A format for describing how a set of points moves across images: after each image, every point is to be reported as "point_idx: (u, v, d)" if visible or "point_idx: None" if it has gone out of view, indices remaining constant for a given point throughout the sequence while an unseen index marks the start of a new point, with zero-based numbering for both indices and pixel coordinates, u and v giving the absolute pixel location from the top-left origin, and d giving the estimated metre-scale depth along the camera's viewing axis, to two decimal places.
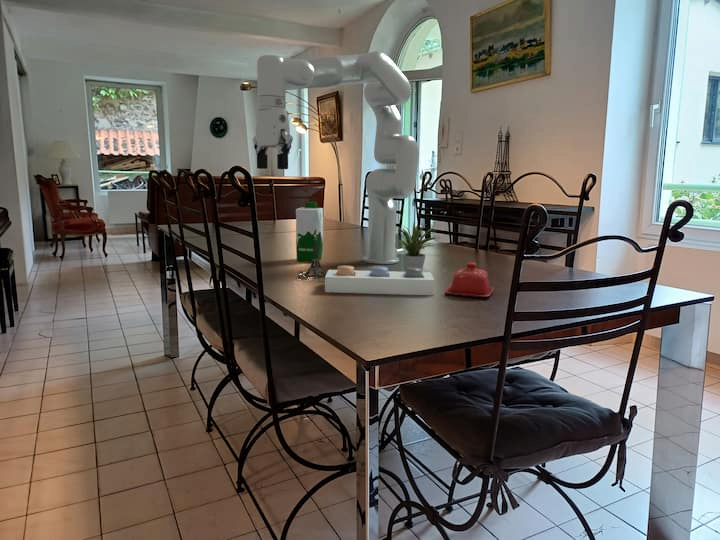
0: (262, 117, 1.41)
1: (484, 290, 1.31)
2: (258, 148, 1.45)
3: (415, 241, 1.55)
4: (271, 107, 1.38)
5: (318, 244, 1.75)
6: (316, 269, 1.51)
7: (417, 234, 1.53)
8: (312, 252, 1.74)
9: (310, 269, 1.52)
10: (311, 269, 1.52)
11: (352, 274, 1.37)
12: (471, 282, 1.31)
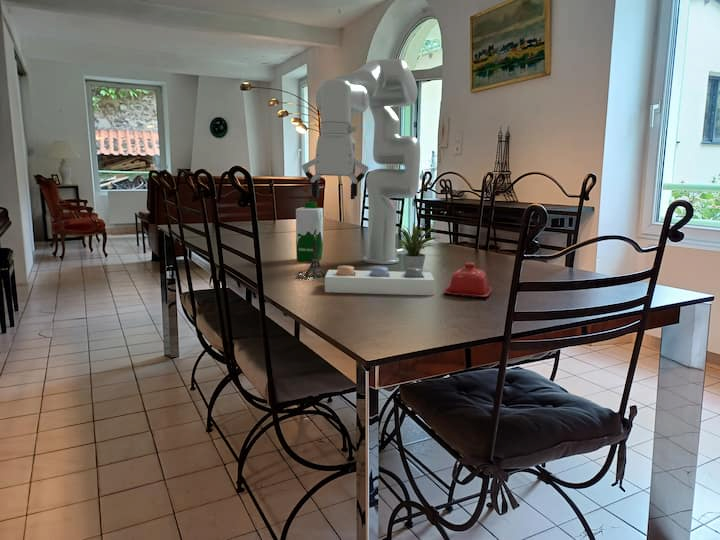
0: (330, 144, 1.31)
1: (482, 290, 1.31)
2: (316, 176, 1.34)
3: (415, 241, 1.55)
4: (345, 135, 1.30)
5: (318, 244, 1.75)
6: (315, 269, 1.51)
7: (417, 234, 1.53)
8: (312, 252, 1.74)
9: (309, 269, 1.52)
10: (310, 269, 1.52)
11: (352, 274, 1.37)
12: (469, 282, 1.31)
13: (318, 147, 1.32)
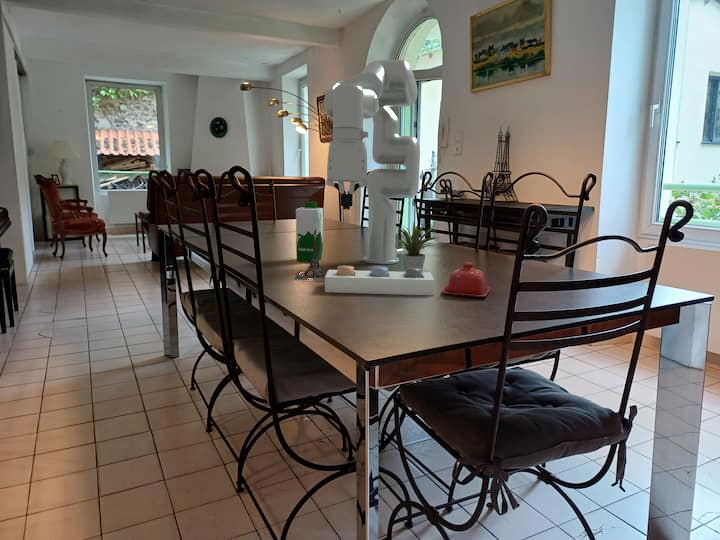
0: (343, 150, 1.30)
1: (481, 290, 1.31)
2: (341, 186, 1.32)
3: (415, 241, 1.55)
4: (359, 140, 1.29)
5: (318, 244, 1.75)
6: (315, 269, 1.51)
7: (417, 234, 1.53)
8: (312, 252, 1.74)
9: (309, 269, 1.52)
10: (310, 269, 1.52)
11: (352, 274, 1.37)
12: (467, 282, 1.31)
13: (331, 153, 1.30)
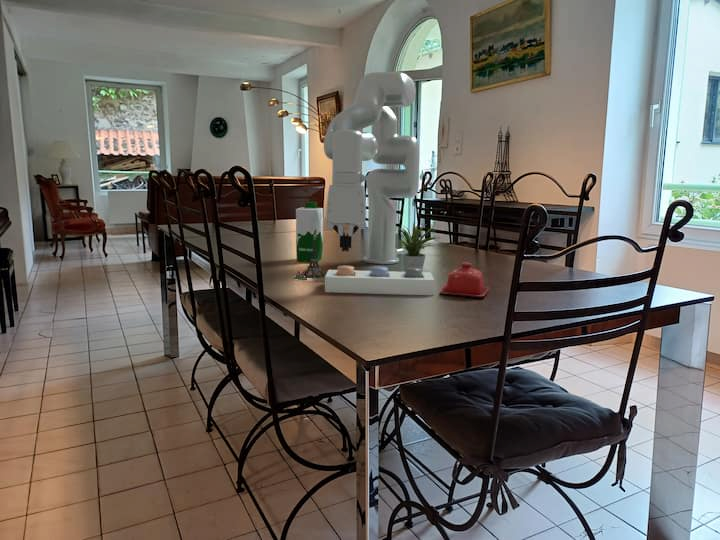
0: (342, 193, 1.31)
1: (479, 290, 1.31)
2: (340, 228, 1.34)
3: (415, 241, 1.55)
4: (358, 184, 1.31)
5: (318, 244, 1.75)
6: (314, 269, 1.51)
7: (417, 234, 1.53)
8: None
9: (308, 269, 1.53)
10: (309, 269, 1.52)
11: (352, 274, 1.37)
12: (465, 282, 1.32)
13: (330, 196, 1.32)
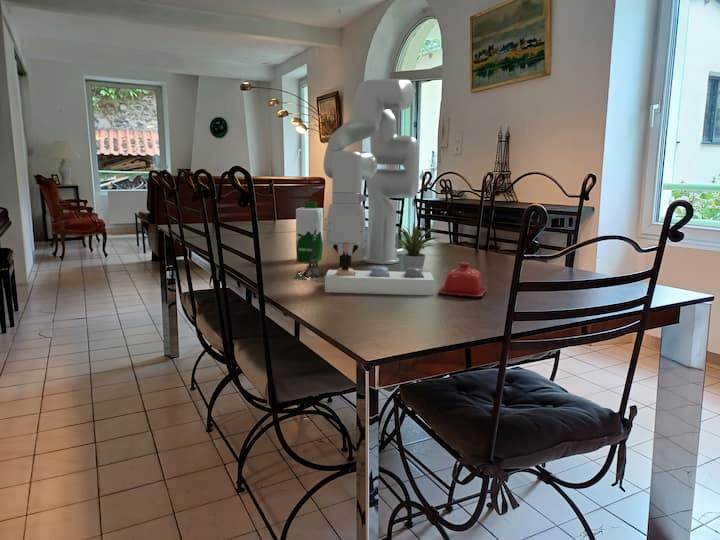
0: (342, 213, 1.32)
1: (477, 290, 1.31)
2: (340, 248, 1.35)
3: (415, 241, 1.55)
4: (357, 204, 1.32)
5: (318, 245, 1.75)
6: (314, 269, 1.51)
7: (417, 234, 1.53)
8: None
9: (308, 269, 1.53)
10: (309, 269, 1.52)
11: None
12: (463, 282, 1.32)
13: (330, 216, 1.33)
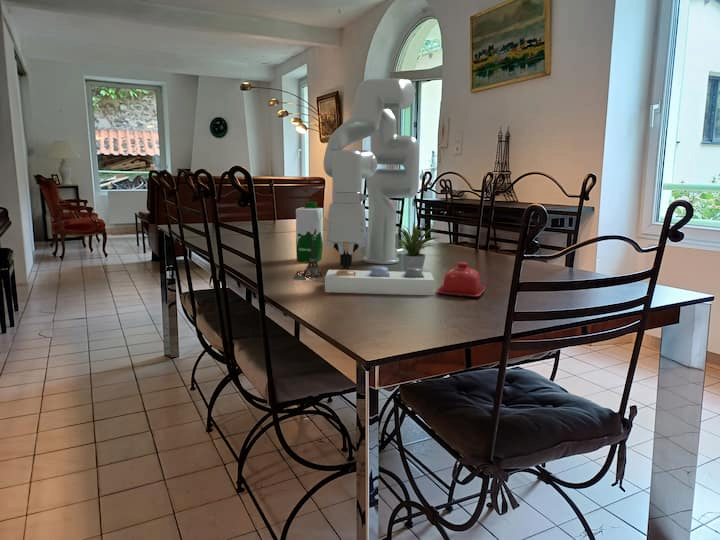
0: (342, 213, 1.33)
1: (475, 290, 1.31)
2: (341, 247, 1.36)
3: (415, 241, 1.55)
4: (357, 204, 1.32)
5: (318, 244, 1.75)
6: (313, 269, 1.51)
7: (417, 234, 1.53)
8: None
9: (307, 269, 1.53)
10: (308, 269, 1.52)
11: None
12: (462, 282, 1.32)
13: (330, 216, 1.33)
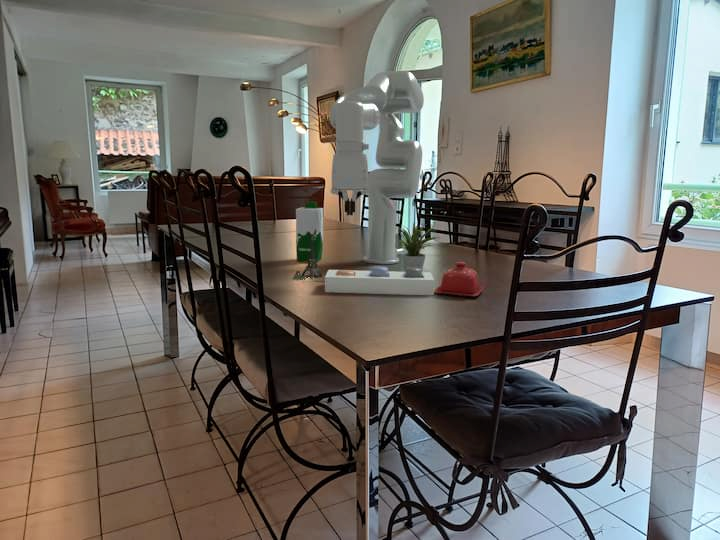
0: (346, 161, 1.42)
1: (473, 289, 1.32)
2: (345, 194, 1.45)
3: (415, 241, 1.55)
4: (360, 153, 1.41)
5: (318, 244, 1.75)
6: (312, 269, 1.51)
7: (417, 234, 1.53)
8: None
9: (306, 269, 1.53)
10: (307, 269, 1.52)
11: None
12: (459, 282, 1.32)
13: (335, 164, 1.42)
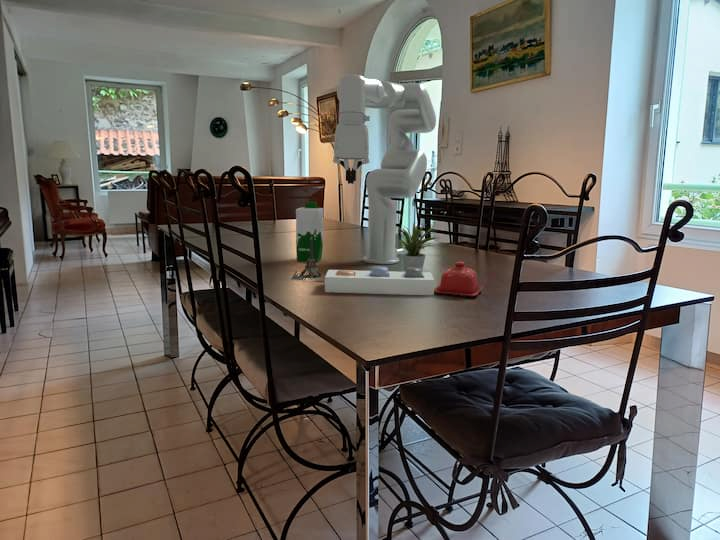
0: (348, 131, 1.50)
1: (471, 289, 1.32)
2: (346, 163, 1.53)
3: (415, 241, 1.55)
4: (361, 123, 1.50)
5: (318, 245, 1.75)
6: (311, 269, 1.51)
7: (417, 234, 1.53)
8: None
9: (305, 269, 1.53)
10: (306, 269, 1.52)
11: None
12: (458, 281, 1.32)
13: (337, 134, 1.51)
